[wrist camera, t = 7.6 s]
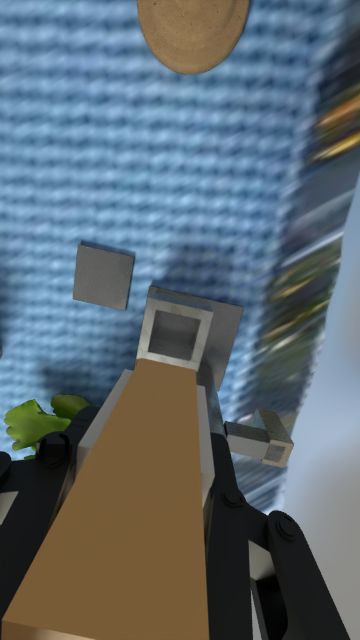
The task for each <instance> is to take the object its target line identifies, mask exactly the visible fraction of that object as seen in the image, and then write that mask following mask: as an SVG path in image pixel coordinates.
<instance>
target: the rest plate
mask: <svg viewBox="0 0 360 640" xmlns="http://www.w3.org/2000/svg"><path fill="white" fill-rule="evenodd" d="M133 264H134V257H132V256H127V255H123V254H119V253H114V252H110V251H105V250H101V249H97V248H92V247H88V246H84V245H79V244H78V250H77V260H76V270H75V280H74V290H73V299H74V300H78V301H83V302H87V303H91V304H96V305H100V306H105V307H109V308H114V309H118V310H123V311H125V310H126V307H127V300H128V294H129V288H130V282H131V276H132V270H133Z"/></svg>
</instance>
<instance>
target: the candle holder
mask: <svg viewBox="0 0 360 640" xmlns="http://www.w3.org/2000/svg"><path fill="white" fill-rule="evenodd" d="M249 1H250V0H137V8H138V17H139V21H140V26H141V30H142V32H143V35H144V38H145V40H146V42H147V44H148V46H149V48H150V50H151V51H152V53H153V54H154V55H155V57H156V58H157V59H158V60H159V61H160V62H161V63H162V64H163V65H165V66H166V67H168V68H169V69H171V70H173V71H176V72H178V73H182V74H199V73H203V72H206V71H209V70H211V69H212V68H214V67H216V66H217V65H219V64H220V63H221V62H222V61H223V60H224V59H225V58H226V57H227V56H228V55H229V54H230V53H231V51H232V50H233V48H234V47H235V45H236V44H237V42H238V40H239V38H240V36H241V34H242V31H243V28H244V25H245V22H246V19H247V14H248V10H249Z"/></svg>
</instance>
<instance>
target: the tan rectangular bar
mask: <svg viewBox="0 0 360 640" xmlns="http://www.w3.org/2000/svg"><path fill="white" fill-rule="evenodd" d="M1 640H209V626H208V606H207V586H206V566H205V546H204V526H203V506H202V486H201V466H200V446H199V425H198V405H197V385H196V370H194V369H190V368H185V367H181V366H176V365H172V364H167V363H163V362H158V361H154V360H149V359H145V358H140V359H139V361H138V363H137V365H136V367H135V369H134V371H133V373H132V375H131V376H130V378H129V380H128V382H127V384H126V386H125V388H124V390H123V392H122V393H121V395H120V397H119V399H118V401H117V403H116V405H115V407H114V409H113V410H112V412H111V414H110V416H109V418H108V420H107V422H106V424H105V426H104V428H103V429H102V431H101V433H100V435H99V437H98V439H97V441H96V443H95V445H94V446H93V448H92V450H91V452H90V454H89V456H88V458H87V460H86V462H85V464H84V465H83V467H82V469H81V471H80V473H79V475H78V477H77V479H76V481H75V482H74V484H73V486H72V488H71V490H70V492H69V494H68V496H67V498H66V499H65V501H64V503H63V505H62V507H61V509H60V511H59V513H58V515H57V517H56V518H55V520H54V522H53V524H52V526H51V528H50V530H49V532H48V534H47V535H46V537H45V539H44V541H43V543H42V545H41V547H40V549H39V551H38V552H37V554H36V556H35V558H34V560H33V562H32V564H31V566H30V568H29V570H28V571H27V573H26V575H25V577H24V579H23V581H22V583H21V585H20V587H19V588H18V590H17V592H16V594H15V596H14V598H13V600H12V602H11V604H10V606H9V607H8V609H7V611H6V613H5V615H4V617H3V619H2V633H1Z"/></svg>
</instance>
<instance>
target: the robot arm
mask: <svg viewBox="0 0 360 640" xmlns="http://www.w3.org/2000/svg"><path fill="white" fill-rule="evenodd" d="M132 373H133V371H132V370H127V369H125V370H124V372H123V373H122V375H121V376H120V378H119V380H118V381H117V383H116V385H115V386H114V388H113V389H112V391H111V393H110V394H109V396H108V398H107V399H106V401H105V402H104V404H103V406H102V407H101V408H97V407H92V406H88V405H87V406H86V407H84V408H83V409H81V410H80V411H79V412H78V413H77V414H76V416H75V417H74V419H73V420H72V421H71V422H70V424H69V425H68V426H67V428H66V429H65V430H64V432H63V431H54V432H51V433H48V434H46V435H44V436H43V437H41V438H40V439H39V440H38V441H37V443H36V454H35V458H33V459H28V460H17V461H11V457H10V455H9V454H8V453H6V452H3V451H0V640H1V633H2V619H3V617H4V615H5V613H6V611H7V609H8V607H9V606H10V604H11V602H12V600H13V598H14V596H15V594H16V592H17V590H18V588H19V587H20V585H21V583H22V581H23V579H24V577H25V575H26V573H27V571H28V570H29V568H30V566H31V564H32V562H33V560H34V558H35V556H36V554H37V552H38V551H39V549H40V547H41V545H42V543H43V541H44V539H45V537H46V535H47V534H48V532H49V530H50V528H51V526H52V524H53V522H54V520H55V518H56V517H57V515H58V513H59V511H60V509H61V507H62V505H63V503H64V501H65V499H66V498H67V496H68V494H69V492H70V490H71V488H72V486H73V484H74V482H75V481H76V479H77V477H78V475H79V473H80V471H81V469H82V467H83V465H84V464H85V462H86V460H87V458H88V456H89V454H90V452H91V450H92V448H93V446H94V445H95V443H96V441H97V439H98V437H99V435H100V433H101V431H102V429H103V428H104V426H105V424H106V422H107V420H108V418H109V416H110V414H111V412H112V410H113V409H114V407H115V405H116V403H117V401H118V399H119V397H120V395H121V393H122V392H123V390H124V388H125V386H126V384H127V382H128V380H129V378H130V376H131V375H132ZM197 405H198V425H199V446H200V466H201V486H202V506H203V526H204V546H205V566H206V586H207V606H208V626H209V640H253V629H252V607H251V591H252V595H253V600H254V605H255V610H256V614H257V619H258V624H259V629H260V633H261V638H262V640H350V638H349V635H348V633H347V631H346V629H345V627H344V624H343V622H342V620H341V617H340V615H339V613H338V611H337V608H336V606H335V604H334V602H333V599H332V597H331V595H330V593H329V591H328V588H327V586H326V584H325V581H324V579H323V577H322V575H321V572H320V570H319V568H318V566H317V563H316V561H315V559H314V557H313V555H312V552H311V550H310V548H309V545H308V543H307V541H306V539H305V537H304V534H303V532H302V530H301V529H300V527H299V525H298V524H297V523H296V522H295V521H294V520H293V518H292V517H290V516H289V515H287V514H286V513H284V512H282V511H279V510H276V511H272V512H271V513H269V515H266V514H264V513H262V512H260V511H259V510H257V509H255V508H253V507H252V506H251V505H249V504H248V503H247V502H246V499H245V497H244V496H243V494H242V492H241V491H240V490H239V489H238V486H237V482H236V477H235V472H234V467H233V463H232V460H231V459H232V458H231V453H230V448H229V444H228V441H227V440H226V438H225V437H224V435H222V434H218V433H213V432H210V429H209V420H208V411H207V402H206V394H205V387H204V386H199V385H197Z"/></svg>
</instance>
